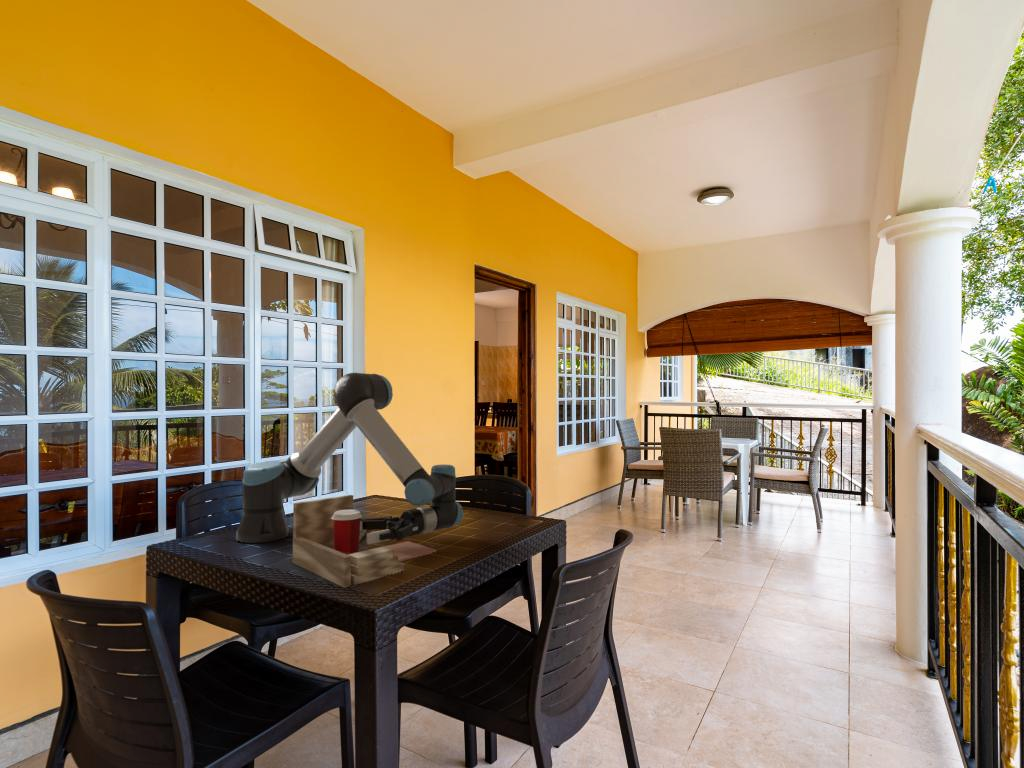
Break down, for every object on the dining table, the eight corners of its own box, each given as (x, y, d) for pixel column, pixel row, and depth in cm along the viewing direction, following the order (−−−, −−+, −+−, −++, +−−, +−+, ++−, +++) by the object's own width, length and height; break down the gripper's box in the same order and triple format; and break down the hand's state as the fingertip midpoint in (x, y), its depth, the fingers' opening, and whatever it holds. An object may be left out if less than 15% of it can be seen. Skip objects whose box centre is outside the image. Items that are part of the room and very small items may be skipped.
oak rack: (350, 549, 158) (350, 494, 158) (405, 570, 139) (405, 508, 139) (292, 562, 146) (293, 503, 146) (344, 587, 127) (344, 519, 127)
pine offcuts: (392, 567, 142) (392, 544, 142) (404, 571, 138) (404, 548, 138) (343, 580, 132) (343, 555, 132) (355, 585, 128) (355, 560, 128)
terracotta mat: (407, 543, 165) (407, 541, 165) (436, 552, 156) (436, 550, 156) (367, 552, 155) (367, 550, 155) (395, 562, 146) (395, 560, 146)
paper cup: (356, 558, 149) (356, 507, 150) (365, 566, 143) (365, 512, 143) (327, 563, 145) (327, 511, 145) (335, 571, 139) (335, 516, 139)
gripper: (444, 541, 152) (379, 558, 136) (393, 526, 169) (330, 540, 153) (444, 514, 152) (379, 528, 136) (393, 502, 169) (330, 513, 154)
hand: (353, 534), depth 145 cm, fingers open, 13 cm apart
